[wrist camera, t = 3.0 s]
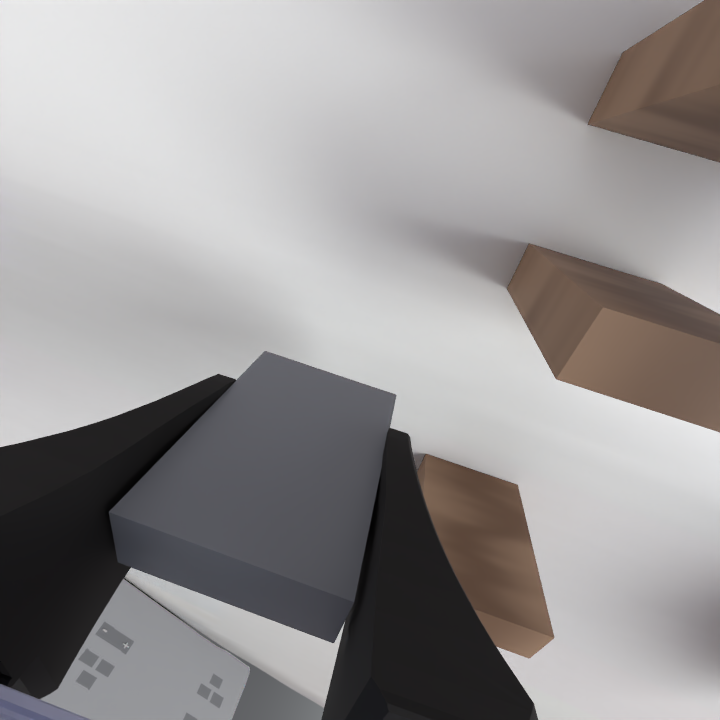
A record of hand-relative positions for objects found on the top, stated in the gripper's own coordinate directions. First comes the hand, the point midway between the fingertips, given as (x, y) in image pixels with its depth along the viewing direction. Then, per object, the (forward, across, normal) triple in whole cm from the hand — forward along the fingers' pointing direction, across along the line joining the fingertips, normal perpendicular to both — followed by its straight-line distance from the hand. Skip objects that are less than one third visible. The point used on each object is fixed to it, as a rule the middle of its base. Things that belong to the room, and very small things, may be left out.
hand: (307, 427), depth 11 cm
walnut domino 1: (+6, -8, +6) cm, 12 cm away
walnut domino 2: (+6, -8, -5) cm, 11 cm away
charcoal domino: (+2, 0, 0) cm, 2 cm away
